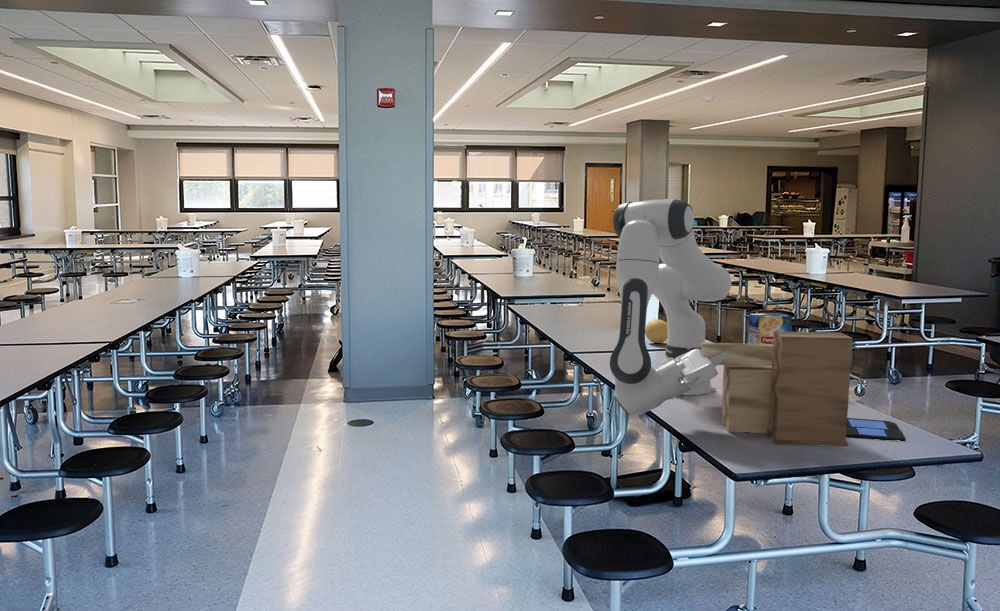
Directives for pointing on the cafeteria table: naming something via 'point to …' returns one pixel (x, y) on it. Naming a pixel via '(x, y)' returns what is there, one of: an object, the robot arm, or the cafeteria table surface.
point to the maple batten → (740, 353)
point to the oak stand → (746, 398)
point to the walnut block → (809, 388)
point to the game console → (873, 429)
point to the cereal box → (767, 327)
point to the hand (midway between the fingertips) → (725, 351)
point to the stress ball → (657, 331)
